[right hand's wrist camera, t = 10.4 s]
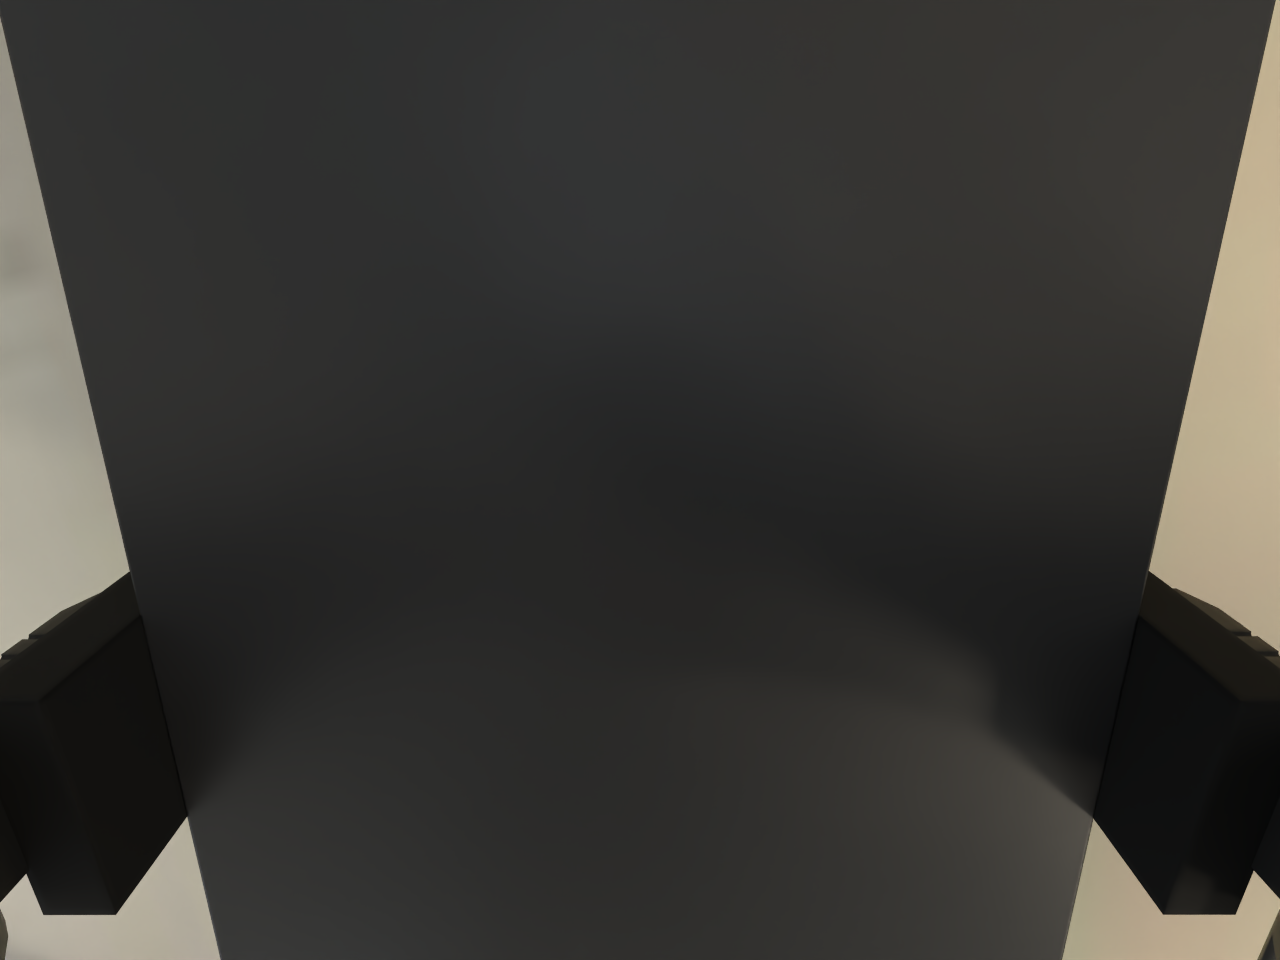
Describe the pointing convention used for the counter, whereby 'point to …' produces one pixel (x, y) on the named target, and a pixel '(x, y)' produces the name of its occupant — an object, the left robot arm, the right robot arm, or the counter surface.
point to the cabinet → (638, 446)
